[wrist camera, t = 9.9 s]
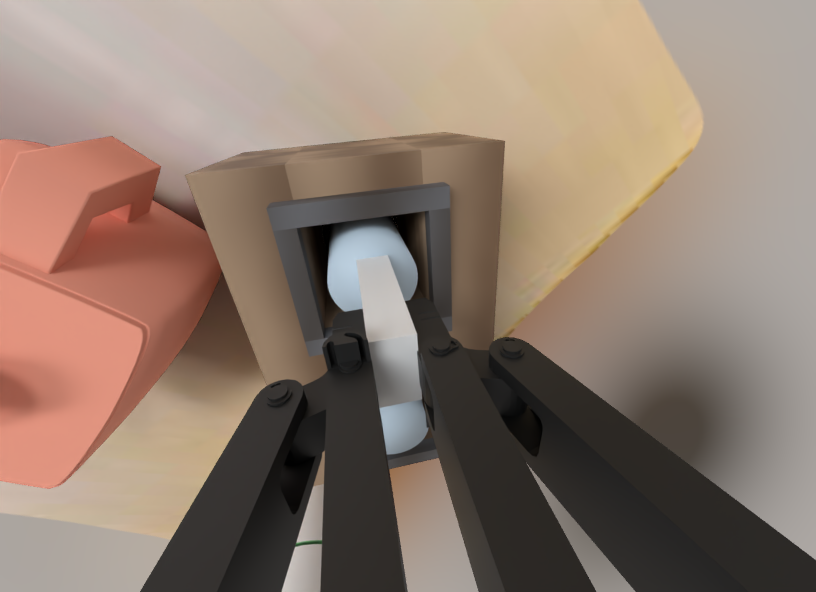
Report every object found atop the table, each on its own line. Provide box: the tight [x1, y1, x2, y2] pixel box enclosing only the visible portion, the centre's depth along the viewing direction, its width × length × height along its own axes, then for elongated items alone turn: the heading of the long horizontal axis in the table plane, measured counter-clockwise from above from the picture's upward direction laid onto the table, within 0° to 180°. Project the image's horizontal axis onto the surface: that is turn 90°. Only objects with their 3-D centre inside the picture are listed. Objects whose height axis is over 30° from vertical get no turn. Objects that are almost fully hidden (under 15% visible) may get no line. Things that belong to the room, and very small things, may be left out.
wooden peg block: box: [185, 132, 505, 487], centre depth 24 cm, size 14×22×11 cm, turn 5°
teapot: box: [0, 136, 222, 489], centre depth 18 cm, size 22×13×14 cm, turn 141°
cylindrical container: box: [282, 484, 324, 592], centre depth 26 cm, size 7×7×25 cm
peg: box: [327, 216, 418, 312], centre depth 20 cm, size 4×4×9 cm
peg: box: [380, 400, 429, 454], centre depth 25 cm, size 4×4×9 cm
